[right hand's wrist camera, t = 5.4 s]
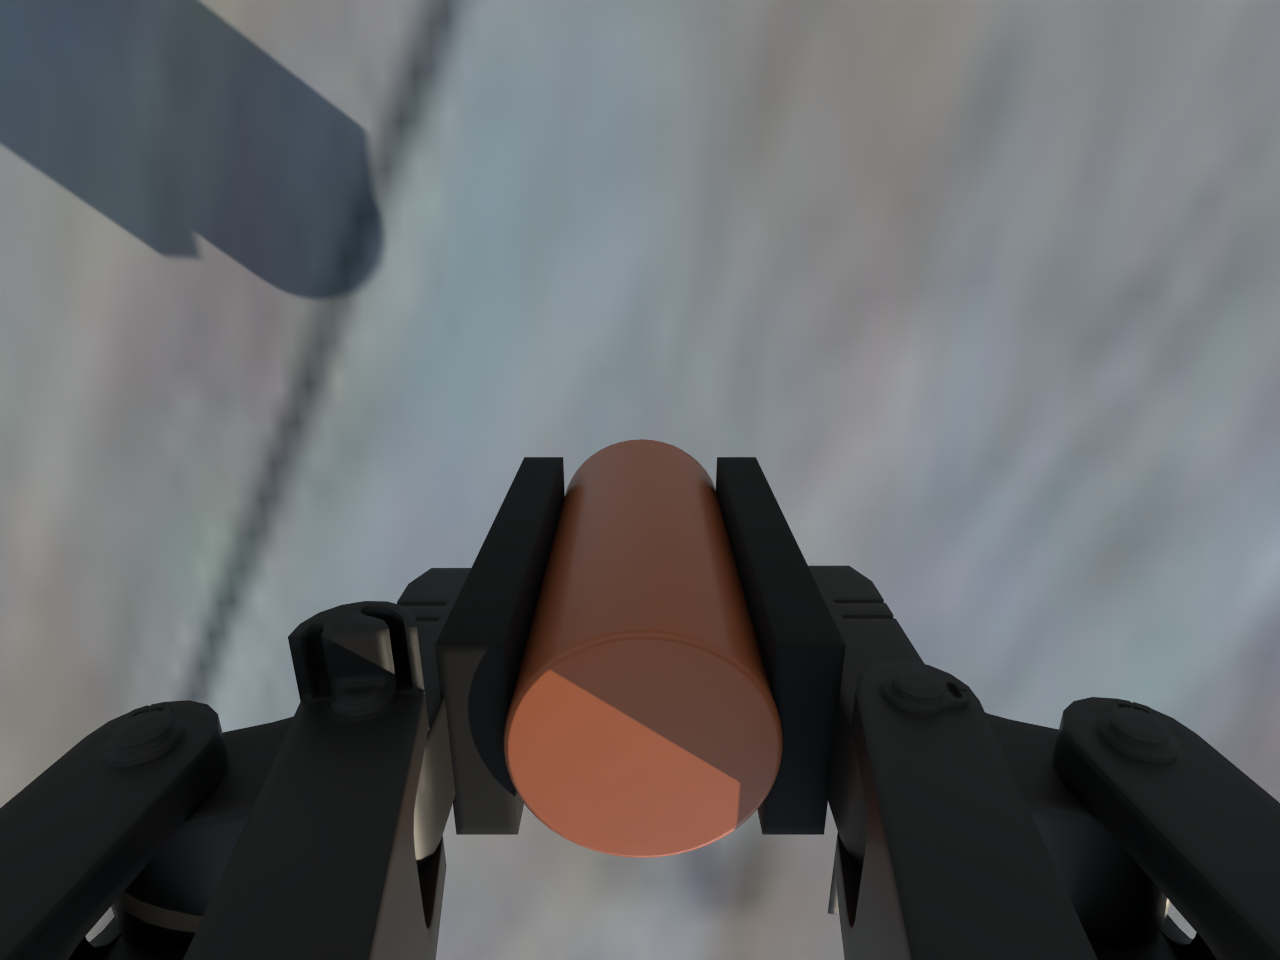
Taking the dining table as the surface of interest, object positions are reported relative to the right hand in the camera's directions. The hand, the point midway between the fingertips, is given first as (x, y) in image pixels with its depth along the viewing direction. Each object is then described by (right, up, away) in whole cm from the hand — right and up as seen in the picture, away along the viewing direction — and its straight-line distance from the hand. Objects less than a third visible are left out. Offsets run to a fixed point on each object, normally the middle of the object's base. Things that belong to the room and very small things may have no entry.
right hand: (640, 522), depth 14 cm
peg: (0, 0, 0) cm, 0 cm away
